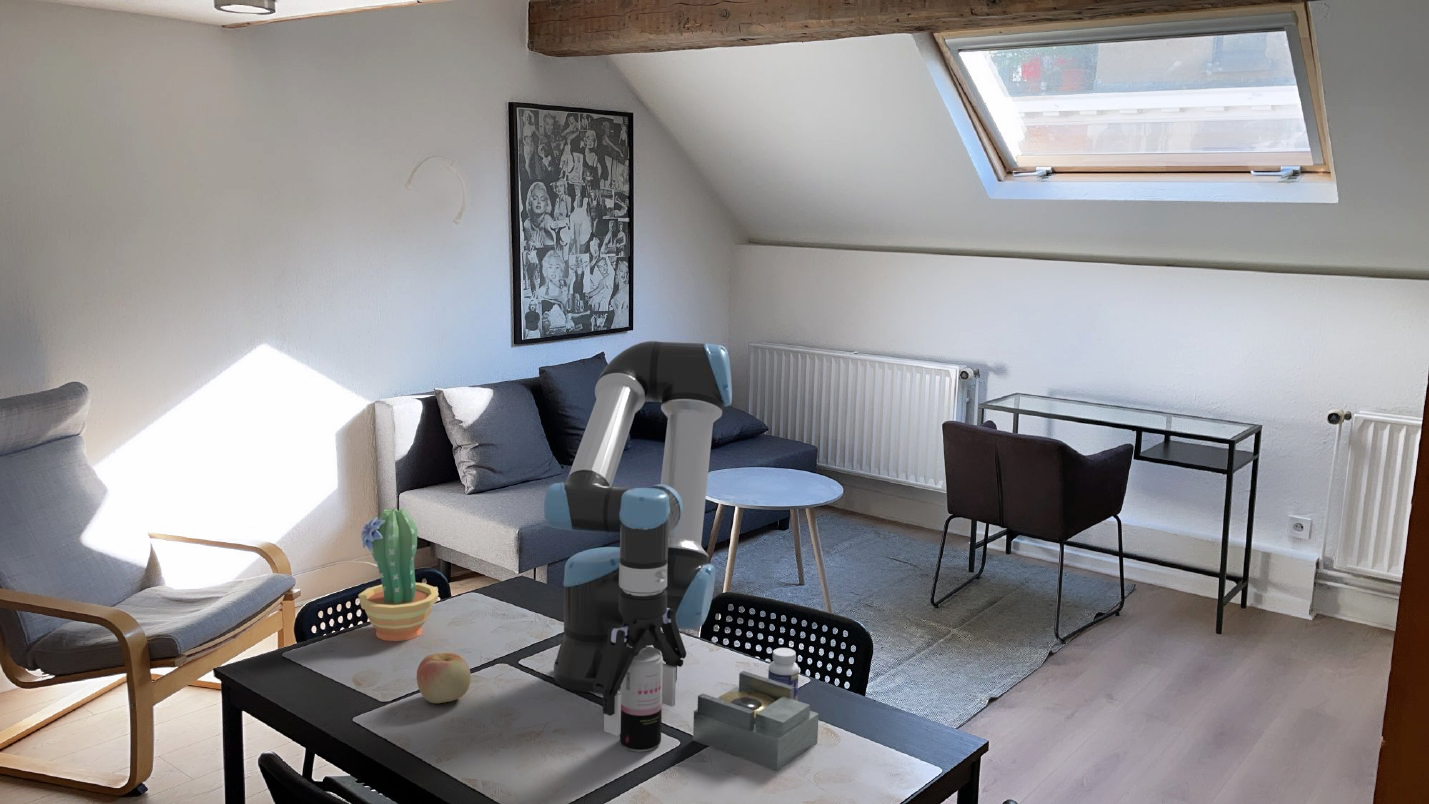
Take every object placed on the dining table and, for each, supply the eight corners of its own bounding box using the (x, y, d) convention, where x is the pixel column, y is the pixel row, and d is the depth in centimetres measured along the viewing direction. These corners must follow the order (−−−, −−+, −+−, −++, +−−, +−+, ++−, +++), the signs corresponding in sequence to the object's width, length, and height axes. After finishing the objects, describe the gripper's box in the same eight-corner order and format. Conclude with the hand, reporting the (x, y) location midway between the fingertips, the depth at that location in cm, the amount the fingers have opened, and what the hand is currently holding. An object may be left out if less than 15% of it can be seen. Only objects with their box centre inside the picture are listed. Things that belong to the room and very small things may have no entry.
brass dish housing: (691, 741, 177) (692, 694, 175) (737, 714, 187) (738, 669, 186) (775, 772, 167) (777, 722, 166) (818, 741, 178) (820, 694, 176)
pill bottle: (795, 708, 190) (797, 659, 188) (765, 704, 191) (766, 656, 189) (799, 695, 195) (801, 648, 193) (769, 692, 196) (771, 645, 194)
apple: (408, 700, 189) (407, 655, 187) (452, 685, 195) (451, 642, 194) (436, 716, 183) (436, 670, 182) (481, 700, 189) (481, 656, 188)
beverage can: (614, 737, 177) (615, 648, 175) (652, 731, 180) (654, 643, 177) (627, 755, 171) (629, 664, 169) (666, 748, 174) (668, 658, 171)
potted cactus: (367, 619, 226) (364, 500, 222) (444, 618, 227) (442, 500, 223) (351, 648, 210) (347, 521, 206) (433, 646, 212) (431, 520, 208)
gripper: (608, 614, 159) (606, 753, 162) (709, 575, 179) (706, 698, 182) (570, 603, 164) (568, 738, 167) (673, 565, 184) (670, 686, 187)
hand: (640, 718), depth 175 cm, fingers open, 13 cm apart
